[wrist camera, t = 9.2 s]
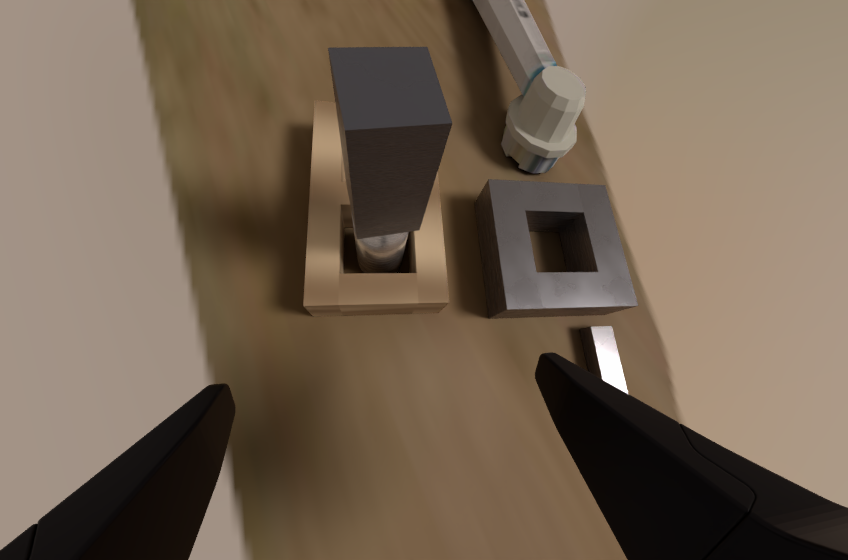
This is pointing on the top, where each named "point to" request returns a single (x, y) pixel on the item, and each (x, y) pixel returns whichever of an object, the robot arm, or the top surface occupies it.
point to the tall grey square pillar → (388, 144)
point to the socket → (581, 242)
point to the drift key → (603, 355)
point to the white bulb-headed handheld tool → (533, 88)
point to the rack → (333, 212)
